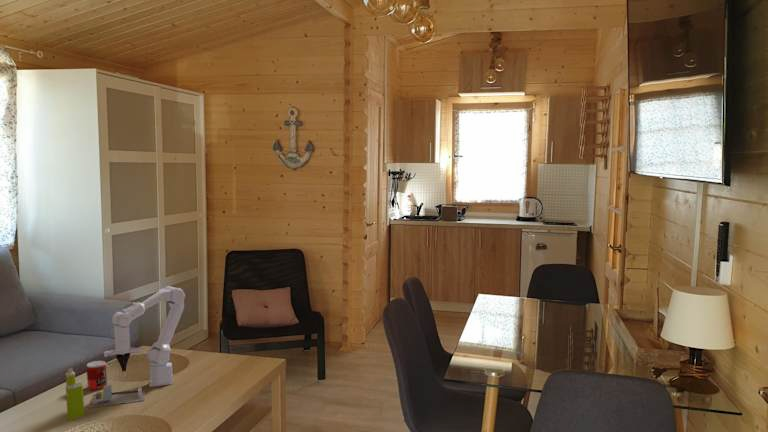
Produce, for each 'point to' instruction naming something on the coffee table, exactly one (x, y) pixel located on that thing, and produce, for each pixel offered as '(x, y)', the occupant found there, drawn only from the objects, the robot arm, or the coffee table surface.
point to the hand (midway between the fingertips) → (124, 370)
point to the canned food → (96, 375)
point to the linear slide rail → (117, 398)
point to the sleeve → (107, 392)
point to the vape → (74, 396)
